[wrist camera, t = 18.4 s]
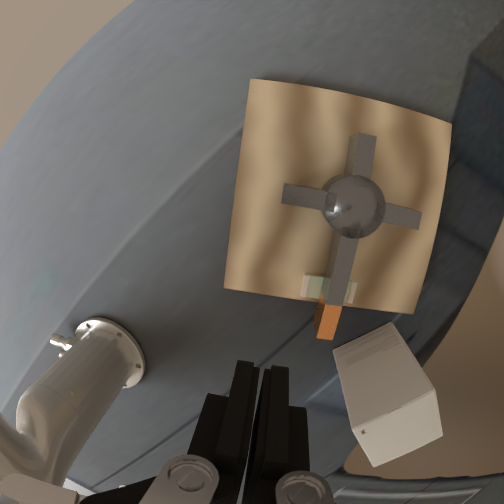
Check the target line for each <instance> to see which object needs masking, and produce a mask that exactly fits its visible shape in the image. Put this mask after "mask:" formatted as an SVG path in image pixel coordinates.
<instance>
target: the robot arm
mask: <svg viewBox="0 0 504 504" xmlns="http://www.w3.org/2000/svg"><path fill="white" fill-rule="evenodd" d="M50 342H51V344H52V345H55V346H57V347H60V348H64V349H65V351H64V350H61V351H60V353H59V356H60V358H59V359H58V360H56V361H55V362H54V363H53V364H52V365H51V366H50V367H49V368H48V369H47V370H46V371H45V372H44V373H43V374H42V375H41V376H40V377H39V378H38V379H37V380H36V381H35V382H34V383H33V384H32V385H31V386H29V387H28V388H27V389H26V391H25V392H24V393H23V394H22V396H21V397H20V400H19V402H18V406H17V412H16V429H15V428H14V427H13V426H12V425H10V423H9V422H8V421H7V420H6V419H5V418H4V417H3V416H2V414H1V413H0V504H236V503H237V499H238V495H239V491H240V487H241V483H242V479H243V475H244V471H245V466H246V462H247V457H248V451H249V457H248V464H247V471H246V478H245V485H244V491H243V498H242V504H336V503H335V502H334V498H333V495H332V491H331V488H330V486H329V484H328V482H327V481H326V480H325V479H324V478H323V477H321V476H320V475H318V474H316V473H313V472H310V463H309V442H308V424H307V411H306V408H304V407H295V406H289V368H288V367H281V366H274V365H272V367H271V369H265V370H264V375H263V380H262V385H261V390H260V395H259V400H258V404H257V409H256V414H255V418H254V423H253V416H254V409H255V401H256V394H257V386H258V378H259V371H260V368H258V367H253V366H254V362H247V361H241V360H238V361H237V365H236V369H235V374H234V378H233V382H232V386H231V390H230V394H229V397H226V396H220V395H215V394H210V393H208V394H207V396H206V399H205V402H204V405H203V408H202V411H201V414H200V417H199V420H198V423H197V426H196V429H195V432H194V435H193V438H192V441H191V444H190V447H189V450H188V453H187V455H180V456H175V457H174V458H172V459H170V460H168V461H167V462H166V463H165V465H164V466H163V467H162V469H161V470H160V472H159V474H158V475H157V476H155V477H152V478H149V479H146V480H143V481H140V482H137V483H134V484H130V485H127V486H124V487H120V488H116V489H113V490H109V491H105V492H101V493H97V494H93V495H90V496H84V495H80V494H78V493H77V491H73V490H69V489H66V488H62V487H63V484H64V481H65V479H66V476H67V474H68V472H69V470H70V468H71V466H72V464H73V462H74V460H75V459H76V457H77V455H78V454H79V452H80V451H81V449H82V448H83V446H84V444H85V443H86V441H87V440H88V438H89V437H90V435H91V434H92V432H93V431H94V429H95V428H96V426H97V425H98V423H99V422H100V420H101V419H102V417H103V416H104V414H105V413H106V412H107V410H108V409H109V407H110V406H111V404H112V403H113V401H114V400H115V398H116V397H117V395H118V394H119V392H120V391H121V390H122V388H130V387H133V386H135V385H136V384H137V383H138V382H139V381H140V380H141V378H142V377H143V375H144V372H145V359H144V355H143V352H142V350H141V348H140V346H139V344H138V343H137V341H136V340H135V339H134V338H133V336H132V335H131V334H130V333H129V332H128V331H127V330H126V329H124V328H123V327H122V326H120V325H119V324H117V323H115V322H113V321H111V320H108V319H106V318H100V317H93V318H89V319H87V320H85V321H83V322H82V323H81V324H80V325H79V326H78V328H77V329H76V331H75V335H74V338H71V337H68V338H64V337H63V336H61V335H58V334H55V333H53V334H52V336H51V338H50ZM252 423H253V429H252ZM251 430H252V436H251ZM250 437H251V443H250ZM249 444H250V450H249Z"/></svg>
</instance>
